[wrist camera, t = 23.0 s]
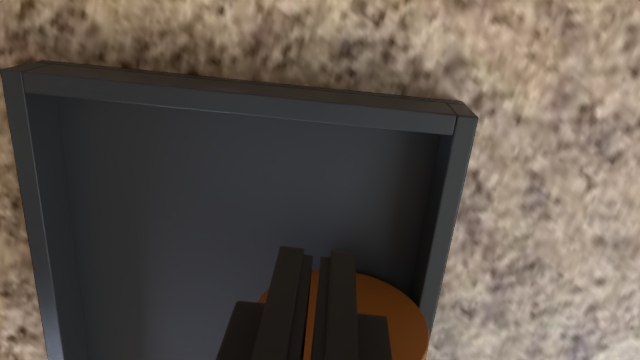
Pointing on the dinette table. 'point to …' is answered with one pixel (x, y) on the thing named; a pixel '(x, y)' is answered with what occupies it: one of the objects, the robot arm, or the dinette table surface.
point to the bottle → (384, 301)
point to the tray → (218, 197)
